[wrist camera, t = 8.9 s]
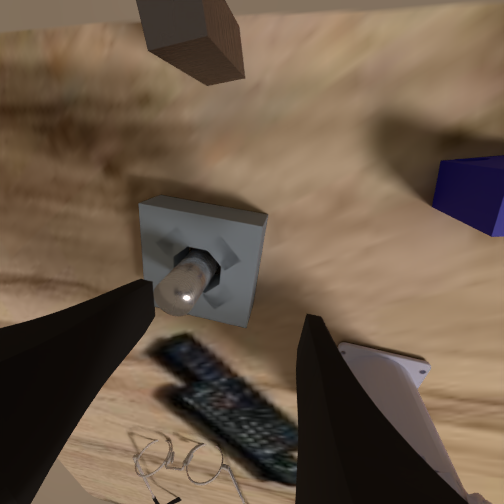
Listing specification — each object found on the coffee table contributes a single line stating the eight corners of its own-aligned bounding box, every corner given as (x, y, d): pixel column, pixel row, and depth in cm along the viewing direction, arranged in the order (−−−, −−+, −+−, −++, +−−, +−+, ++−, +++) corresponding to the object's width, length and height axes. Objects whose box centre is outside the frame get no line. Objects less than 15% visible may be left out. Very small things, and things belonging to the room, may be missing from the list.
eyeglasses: (237, 438, 33) (227, 485, 29) (261, 508, 40) (256, 555, 36) (136, 430, 37) (114, 470, 32) (174, 495, 44) (160, 535, 39)
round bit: (222, 269, 22) (190, 320, 16) (195, 261, 22) (153, 309, 16) (226, 243, 21) (194, 287, 14) (197, 235, 21) (153, 276, 15)
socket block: (252, 306, 23) (246, 328, 20) (163, 286, 24) (145, 304, 21) (268, 214, 19) (262, 226, 16) (160, 194, 20) (138, 203, 17)
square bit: (245, 78, 16) (207, 35, 9) (207, 85, 16) (147, 50, 10) (239, 26, 15) (193, -60, 8) (199, 36, 15) (127, -38, 9)
